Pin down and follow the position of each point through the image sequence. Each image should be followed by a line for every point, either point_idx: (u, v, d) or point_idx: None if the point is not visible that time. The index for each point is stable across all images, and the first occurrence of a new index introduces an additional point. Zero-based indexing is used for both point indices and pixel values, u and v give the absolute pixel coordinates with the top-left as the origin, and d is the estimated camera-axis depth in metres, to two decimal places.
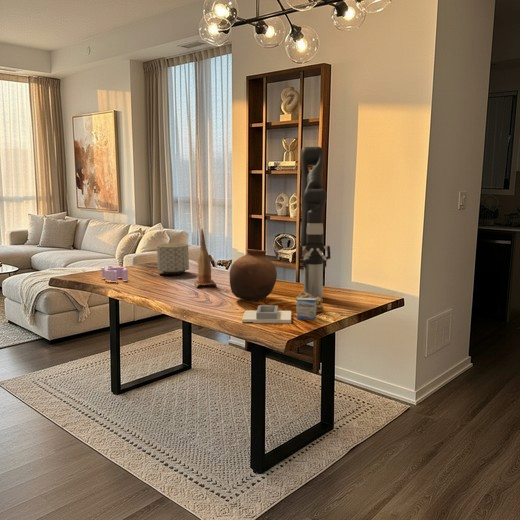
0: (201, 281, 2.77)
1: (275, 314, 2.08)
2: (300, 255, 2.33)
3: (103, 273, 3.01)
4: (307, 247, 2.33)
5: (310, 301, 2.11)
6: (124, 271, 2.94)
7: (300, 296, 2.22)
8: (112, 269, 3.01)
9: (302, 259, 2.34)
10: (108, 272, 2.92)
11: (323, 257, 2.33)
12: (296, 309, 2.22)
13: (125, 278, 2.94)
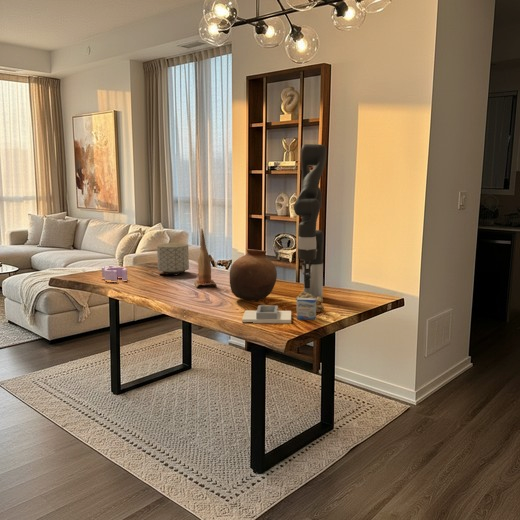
0: (201, 281, 2.77)
1: (275, 314, 2.08)
2: (310, 274, 2.05)
3: (103, 273, 3.01)
4: (309, 264, 2.07)
5: (310, 301, 2.11)
6: (124, 271, 2.94)
7: (301, 296, 2.22)
8: (112, 269, 3.01)
9: (308, 278, 2.06)
10: (108, 272, 2.92)
11: None
12: None
13: (125, 278, 2.94)
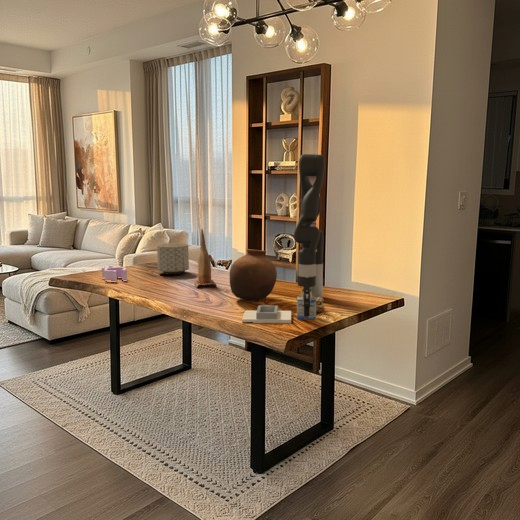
0: (201, 281, 2.77)
1: (275, 314, 2.08)
2: (309, 303, 2.08)
3: (103, 273, 3.01)
4: (309, 291, 2.09)
5: None
6: (123, 271, 2.94)
7: (301, 296, 2.22)
8: (112, 269, 3.01)
9: (308, 307, 2.10)
10: (107, 272, 2.92)
11: None
12: None
13: (124, 278, 2.94)
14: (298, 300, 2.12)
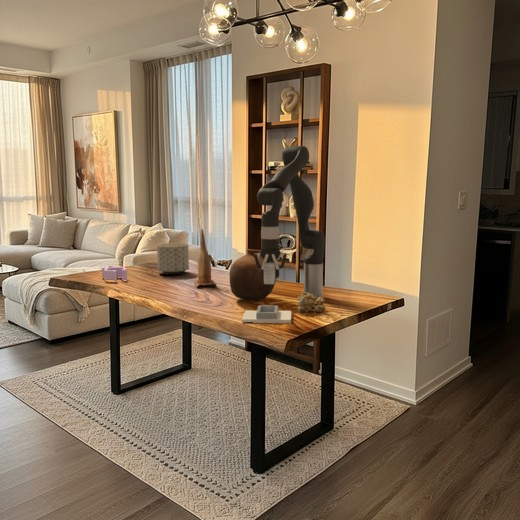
0: (201, 281, 2.77)
1: (275, 314, 2.08)
2: None
3: (103, 273, 3.02)
4: None
5: None
6: (123, 271, 2.94)
7: (302, 296, 2.22)
8: (112, 269, 3.01)
9: None
10: (107, 272, 2.92)
11: None
12: (298, 309, 2.22)
13: (124, 278, 2.95)
14: (274, 264, 2.07)
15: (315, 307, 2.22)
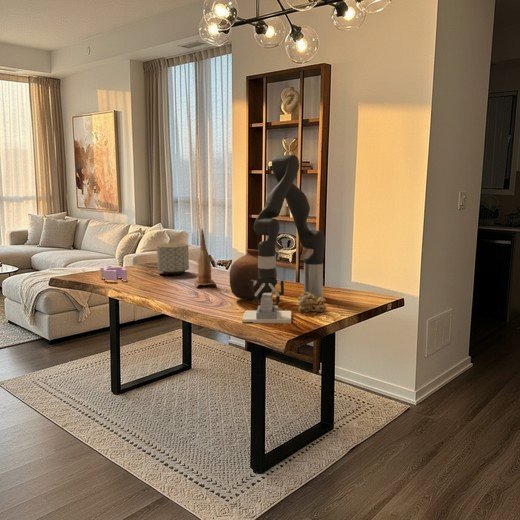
0: (201, 281, 2.77)
1: (275, 314, 2.08)
2: None
3: (102, 273, 3.01)
4: None
5: (272, 295, 2.15)
6: (123, 271, 2.94)
7: (303, 296, 2.22)
8: (111, 269, 3.01)
9: (280, 294, 2.14)
10: (107, 272, 2.92)
11: None
12: (299, 309, 2.22)
13: (124, 278, 2.95)
14: (271, 297, 2.10)
15: (316, 307, 2.22)
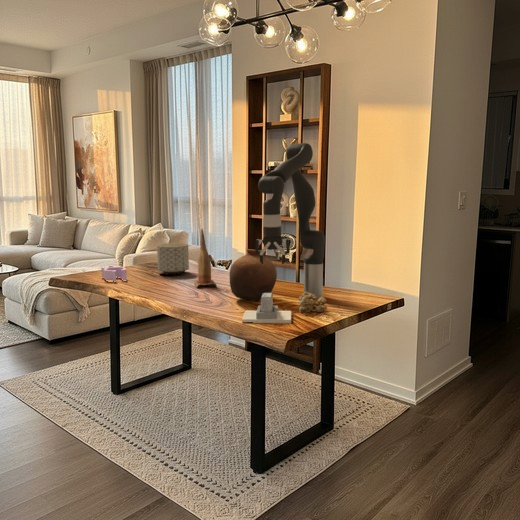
0: (201, 281, 2.77)
1: (275, 314, 2.08)
2: None
3: (103, 273, 3.02)
4: None
5: (272, 295, 2.15)
6: (123, 271, 2.94)
7: (304, 296, 2.22)
8: (112, 269, 3.02)
9: (286, 253, 2.13)
10: (107, 272, 2.92)
11: None
12: (300, 309, 2.22)
13: (124, 278, 2.95)
14: (271, 297, 2.10)
15: (316, 307, 2.22)
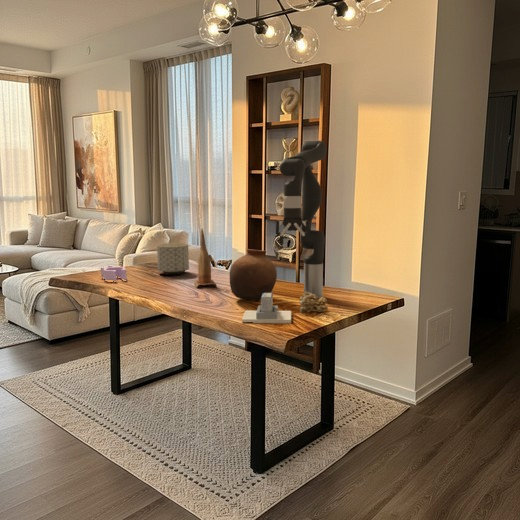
0: (201, 281, 2.77)
1: (275, 314, 2.08)
2: None
3: (102, 273, 3.02)
4: None
5: (272, 295, 2.15)
6: (123, 271, 2.95)
7: (304, 296, 2.22)
8: (111, 269, 3.02)
9: (305, 234, 2.19)
10: (107, 272, 2.92)
11: None
12: (300, 309, 2.21)
13: (124, 278, 2.95)
14: (271, 297, 2.10)
15: (317, 307, 2.22)
